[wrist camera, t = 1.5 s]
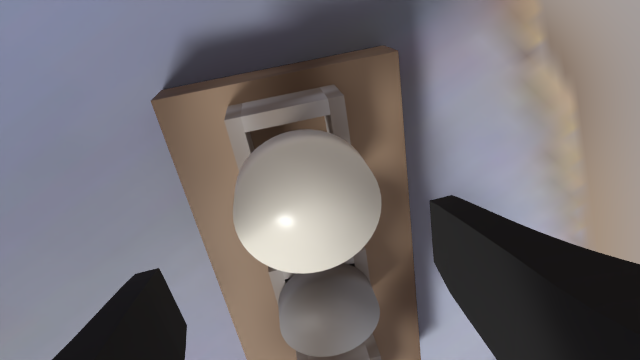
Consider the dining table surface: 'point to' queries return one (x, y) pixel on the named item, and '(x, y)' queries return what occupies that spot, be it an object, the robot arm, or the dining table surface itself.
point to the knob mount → (309, 288)
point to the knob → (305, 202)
